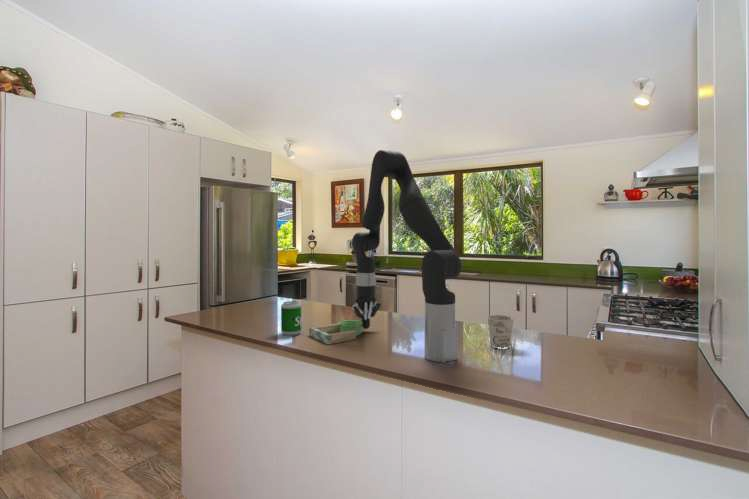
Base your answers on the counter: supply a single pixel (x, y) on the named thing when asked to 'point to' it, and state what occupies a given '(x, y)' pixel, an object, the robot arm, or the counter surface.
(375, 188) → the robot arm
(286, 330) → the soda can
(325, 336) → the rail pocket
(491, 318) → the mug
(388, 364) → the counter surface
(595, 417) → the counter surface
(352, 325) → the ramekin
